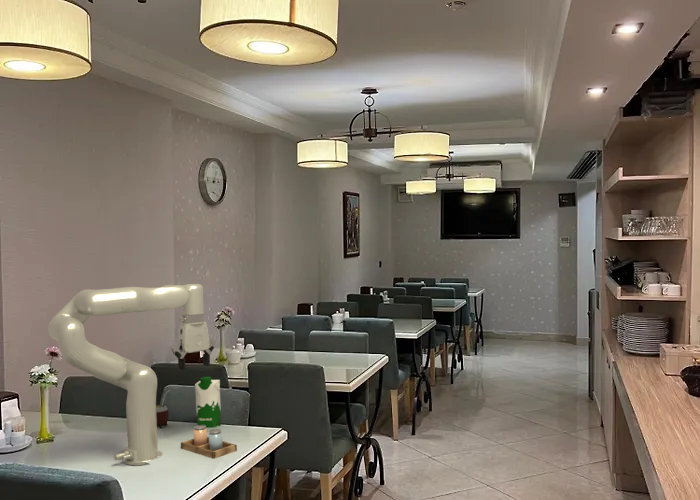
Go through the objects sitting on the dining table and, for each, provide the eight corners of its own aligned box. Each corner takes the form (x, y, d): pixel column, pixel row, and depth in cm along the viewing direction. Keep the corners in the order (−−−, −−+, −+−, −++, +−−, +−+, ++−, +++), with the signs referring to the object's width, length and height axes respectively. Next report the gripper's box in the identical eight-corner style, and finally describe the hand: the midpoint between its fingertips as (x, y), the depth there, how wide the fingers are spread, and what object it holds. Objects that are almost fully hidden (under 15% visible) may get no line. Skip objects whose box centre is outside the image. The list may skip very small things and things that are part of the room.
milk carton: (194, 431, 252) (192, 379, 251) (202, 424, 261) (200, 374, 260) (217, 431, 251) (214, 378, 250) (223, 424, 260) (221, 373, 259)
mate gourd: (149, 425, 262) (147, 388, 261) (169, 422, 265) (167, 385, 265) (151, 430, 255) (150, 391, 255) (172, 427, 258) (171, 389, 258)
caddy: (213, 462, 215) (213, 452, 215) (181, 451, 227) (180, 442, 227) (237, 454, 222) (236, 444, 222) (204, 444, 235) (203, 435, 235)
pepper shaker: (199, 450, 225) (198, 429, 225) (191, 447, 228) (190, 427, 227) (209, 446, 228) (209, 426, 228) (202, 444, 231) (201, 424, 231)
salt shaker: (215, 454, 219) (214, 433, 219) (207, 452, 222) (205, 431, 221) (225, 451, 222) (224, 429, 222) (217, 449, 225) (216, 428, 225)
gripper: (176, 322, 223) (177, 372, 223) (219, 317, 235) (221, 365, 236) (165, 320, 229) (166, 370, 229) (208, 316, 241) (209, 362, 241)
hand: (194, 367), depth 232 cm, fingers open, 9 cm apart
